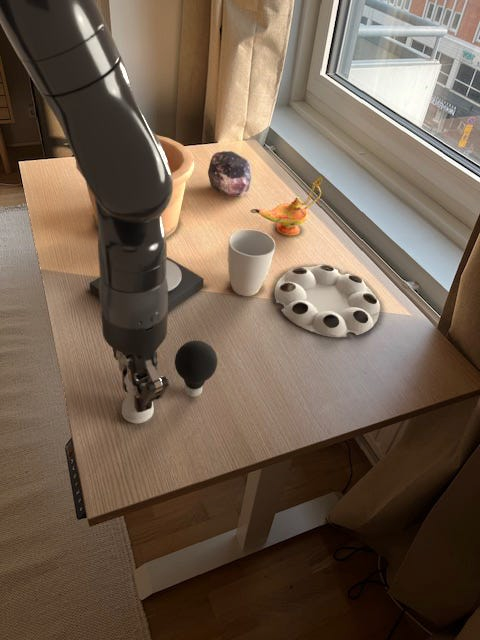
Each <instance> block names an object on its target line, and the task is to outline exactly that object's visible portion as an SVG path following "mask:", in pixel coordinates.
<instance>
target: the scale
mask: <svg viewBox="0 0 480 640" xmlns="http://www.w3.org/2000/svg"><path fill="white" fill-rule="evenodd" d="M166 277H167V284H168V312H169V311H171V310H172V309H174V307H177V306H178V305H180V304H181V303H182V302H184V301H185V300H186V299H188V298H190V297H191V296H192V295H194V294H195V293H197V292H198V291H200V290H201V289H203V288H204V281H205V278H204V277H202V276H200V275H199V274H197V273H195V272H194V271H192V270H190V269H189V268H187V267H185V266H183V265H181V264H180V263H179V262H177V261H175V260H173V259H172V258H170V257H169V256H167V264H166ZM99 284H100V276H99V277H97V278H96V279H94V280H92V281H90V282H89V290H90V293H91V294H93V295H95V297H98V298H99V299H100V295H99Z"/></svg>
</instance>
